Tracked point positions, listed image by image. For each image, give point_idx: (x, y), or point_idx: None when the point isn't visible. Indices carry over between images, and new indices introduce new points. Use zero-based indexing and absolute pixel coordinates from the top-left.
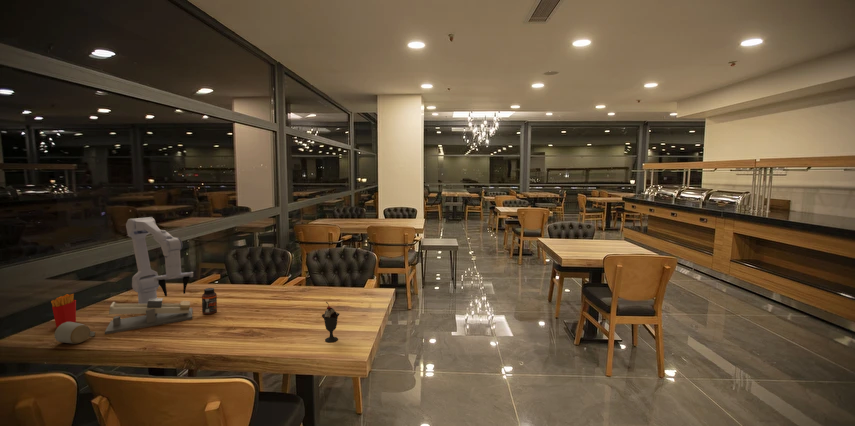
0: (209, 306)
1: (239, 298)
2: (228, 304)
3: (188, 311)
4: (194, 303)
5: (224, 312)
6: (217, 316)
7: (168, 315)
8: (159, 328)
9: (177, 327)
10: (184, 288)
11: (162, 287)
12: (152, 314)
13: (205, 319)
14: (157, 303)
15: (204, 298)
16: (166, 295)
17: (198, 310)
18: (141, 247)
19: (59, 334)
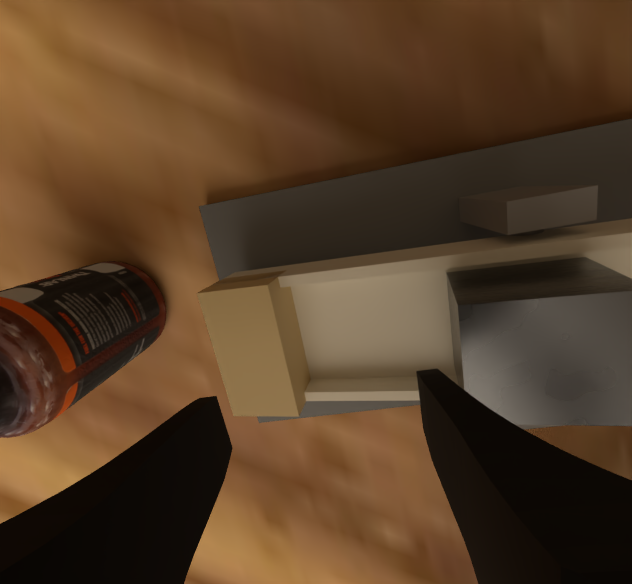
0: (60, 275)
1: (34, 505)
2: (60, 423)
3: (231, 275)
4: (281, 521)
5: (24, 268)
6: (41, 195)
7: None
8: (403, 62)
9: (266, 30)
10: (150, 441)
11: (548, 457)
12: (505, 196)
13: (106, 157)
14: (502, 289)
15: (28, 310)
16: (421, 372)
17: (218, 380)
18: None
19: None
